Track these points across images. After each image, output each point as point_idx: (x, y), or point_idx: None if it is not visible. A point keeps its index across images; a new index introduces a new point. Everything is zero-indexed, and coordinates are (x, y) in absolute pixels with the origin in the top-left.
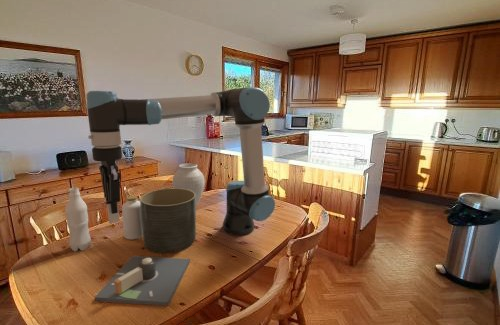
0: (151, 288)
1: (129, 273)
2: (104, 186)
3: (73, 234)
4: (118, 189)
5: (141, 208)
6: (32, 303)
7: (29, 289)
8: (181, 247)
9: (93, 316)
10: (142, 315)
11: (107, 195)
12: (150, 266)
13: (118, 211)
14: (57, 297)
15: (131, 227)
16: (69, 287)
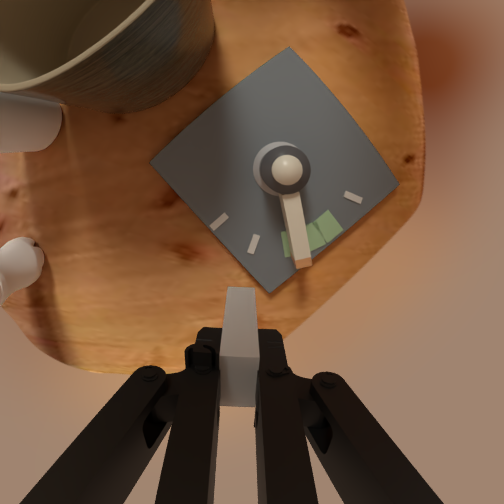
0: (335, 186)
1: (296, 228)
2: (138, 476)
3: (16, 289)
4: (398, 461)
5: (41, 95)
6: None
7: (141, 364)
8: (213, 32)
9: (312, 302)
10: (380, 233)
11: (217, 437)
12: (310, 170)
13: (255, 318)
14: None
15: (35, 132)
16: (180, 316)
